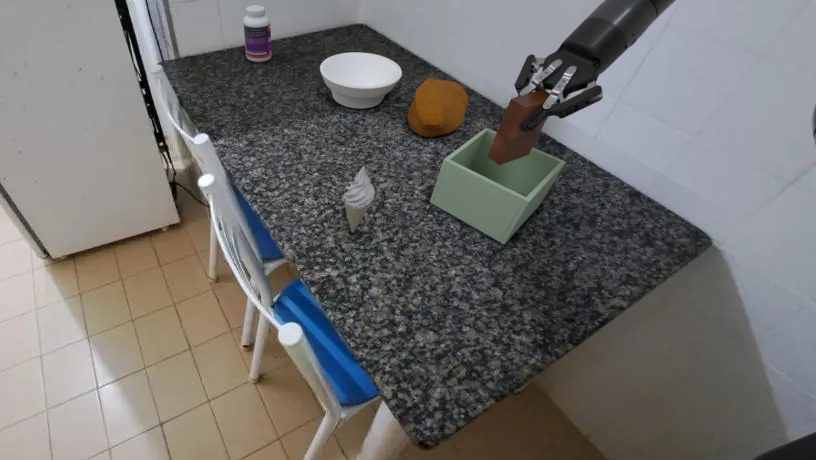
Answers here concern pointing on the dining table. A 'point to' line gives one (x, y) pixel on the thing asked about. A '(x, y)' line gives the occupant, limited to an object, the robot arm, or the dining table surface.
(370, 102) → the bowl
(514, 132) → the chocolate bar
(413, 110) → the bread
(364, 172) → the ice cream cone
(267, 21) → the pill bottle
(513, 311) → the dining table surface
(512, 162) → the trash bin
